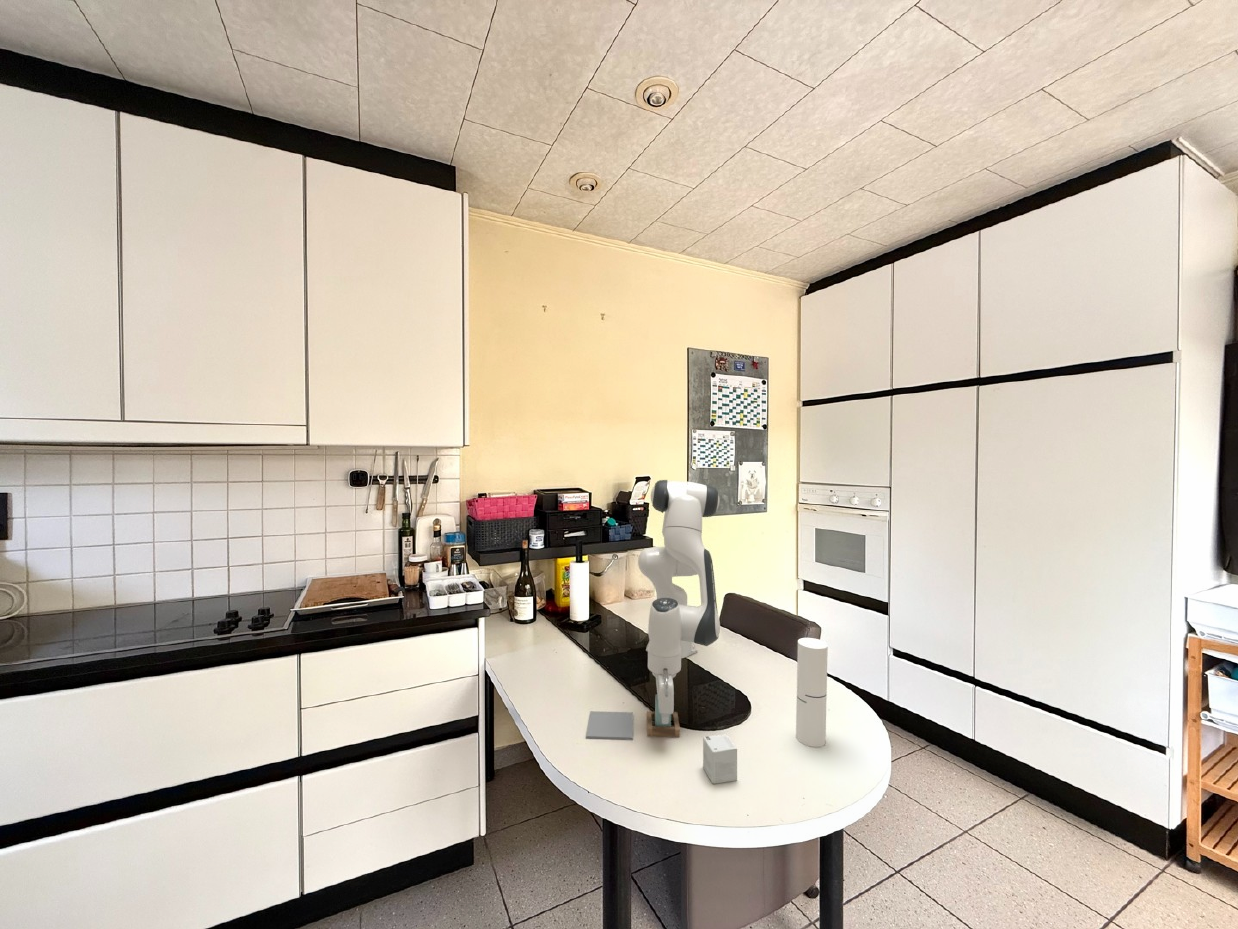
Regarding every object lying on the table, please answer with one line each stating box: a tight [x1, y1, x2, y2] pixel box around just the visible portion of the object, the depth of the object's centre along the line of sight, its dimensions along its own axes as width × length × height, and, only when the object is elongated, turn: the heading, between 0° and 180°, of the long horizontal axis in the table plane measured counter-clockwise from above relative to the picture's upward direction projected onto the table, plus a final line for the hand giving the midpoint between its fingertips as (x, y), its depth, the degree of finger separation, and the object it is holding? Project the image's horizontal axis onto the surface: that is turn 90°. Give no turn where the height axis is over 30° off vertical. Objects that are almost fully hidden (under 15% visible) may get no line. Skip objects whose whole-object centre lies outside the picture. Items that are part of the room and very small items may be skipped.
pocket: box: [646, 711, 681, 738], centre depth 130 cm, size 8×8×2 cm
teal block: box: [654, 694, 672, 727], centre depth 130 cm, size 4×4×8 cm
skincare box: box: [702, 733, 738, 785], centre depth 111 cm, size 6×6×7 cm
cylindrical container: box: [795, 637, 829, 748], centre depth 125 cm, size 7×7×25 cm
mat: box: [585, 710, 634, 741], centre depth 130 cm, size 12×12×1 cm
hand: (663, 712), depth 130 cm, fingers open, 8 cm apart
